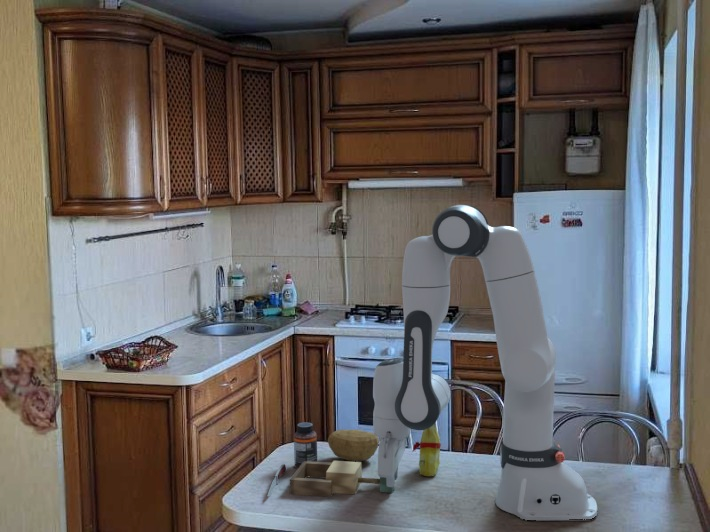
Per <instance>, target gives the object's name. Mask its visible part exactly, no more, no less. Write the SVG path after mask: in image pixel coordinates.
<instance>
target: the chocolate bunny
mask: <svg viewBox="0 0 710 532" xmlns="http://www.w3.org/2000/svg"><path fill="white" fill-rule="evenodd" d="M440 439H441V438H440V435H439V430H438V428H437V426H436V423H435V424H434V425H433V426H431V427H430V428H428V429H425V430H422V434H421V437H420V442H418V441H416V442H415V443H414V444H413V450H412V452H415V451H416V450H417V449H418V448H419V461H418V468H419V474H420V475H422V476H424V477H433V476H436V474H437V472H438V469H439V467H440V462H441V461H440V453H441V444H442V443H441V442H440Z"/></svg>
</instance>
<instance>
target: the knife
mask: <svg viewBox="0 0 710 532" xmlns="http://www.w3.org/2000/svg"><path fill="white" fill-rule="evenodd" d="M286 471H287V466H286V464H284V463H283V464H281V465H280V466H279V468H278V470H277V472H276V474H275V475H274V479H273V480H272V482H271V485H270V487H269V490H268V493H267V497H270V496H271V495H272V493H273V492H274V489H275V487H276V486H278V485H279V480H280V478H281V477H282V476H284V475H285V473H286Z"/></svg>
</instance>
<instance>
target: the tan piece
mask: <svg viewBox="0 0 710 532" xmlns="http://www.w3.org/2000/svg"><path fill="white" fill-rule="evenodd" d="M331 464H332V462H327V461H326V462H325V461H324V462H323V461H317V462H312V461H304V462H303V463H302V464H301V466H300V467H299V468H298V469H297V468H296V471H295V472H294V473H293V475H292V476H291V477H290V479H289V495H299V496H300V495H301V496H315V497H328V498H331V497H332V496H333V493H332V480H326V471H327V470H328V468H329V467H330V465H331ZM308 476H310V477H308ZM317 477H321V478H320V479H319V478H317Z"/></svg>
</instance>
